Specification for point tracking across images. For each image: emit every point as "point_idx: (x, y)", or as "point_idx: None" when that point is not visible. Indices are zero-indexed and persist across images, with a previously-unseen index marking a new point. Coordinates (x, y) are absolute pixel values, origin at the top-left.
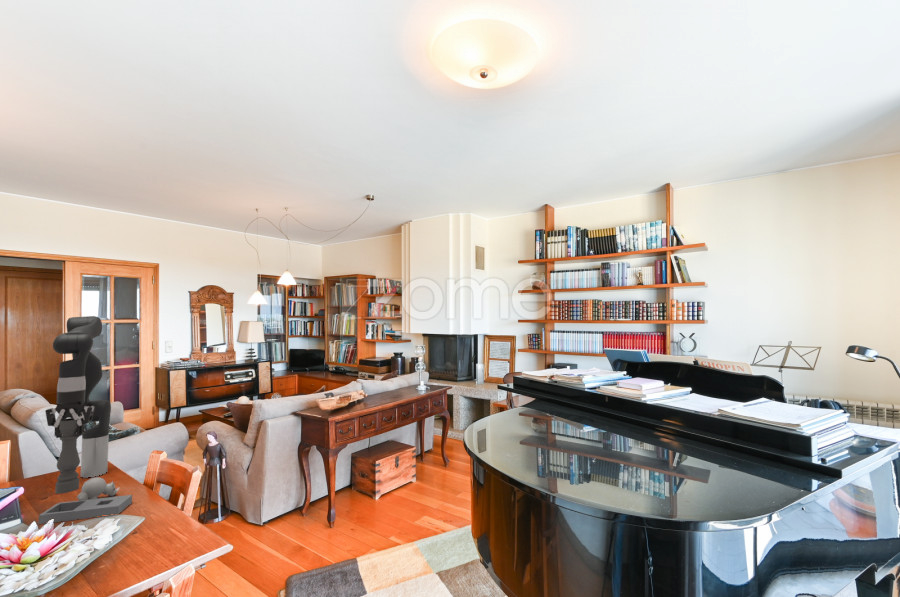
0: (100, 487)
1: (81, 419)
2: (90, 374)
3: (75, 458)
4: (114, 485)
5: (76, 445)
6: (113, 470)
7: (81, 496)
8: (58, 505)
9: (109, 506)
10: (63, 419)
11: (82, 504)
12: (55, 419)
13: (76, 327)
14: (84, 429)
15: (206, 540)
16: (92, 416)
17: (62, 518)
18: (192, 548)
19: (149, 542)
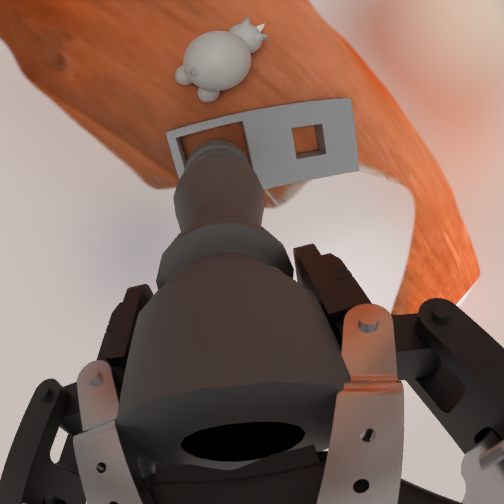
0: (248, 70)
1: (365, 380)
2: None
3: (262, 215)
4: (260, 32)
5: (255, 220)
6: None
7: (207, 98)
8: (177, 143)
9: (339, 170)
10: (149, 451)
11: (253, 147)
12: (48, 432)
13: None
14: (352, 280)
15: (473, 266)
16: (490, 345)
17: None
18: (463, 281)
19: (429, 271)
